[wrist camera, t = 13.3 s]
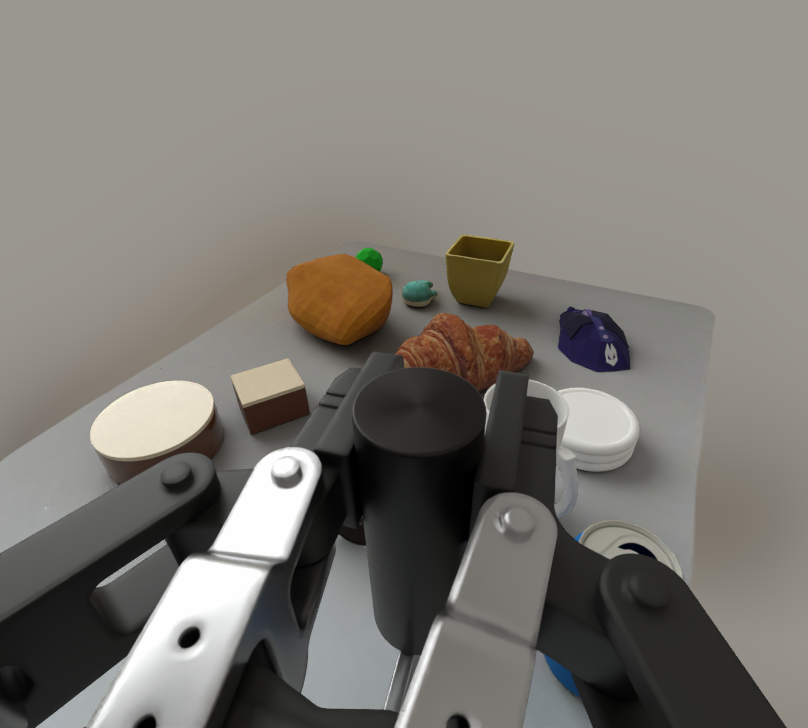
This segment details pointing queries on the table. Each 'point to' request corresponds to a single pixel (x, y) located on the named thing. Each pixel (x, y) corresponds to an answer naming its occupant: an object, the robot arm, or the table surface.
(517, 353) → the pastry
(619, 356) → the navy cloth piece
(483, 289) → the flower pot
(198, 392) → the cake
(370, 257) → the polyhedron
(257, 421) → the cake slice
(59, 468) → the table surface
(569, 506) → the mug
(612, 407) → the coaster
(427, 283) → the whale figurine
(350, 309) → the bread
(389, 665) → the table surface
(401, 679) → the knife
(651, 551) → the beverage can
